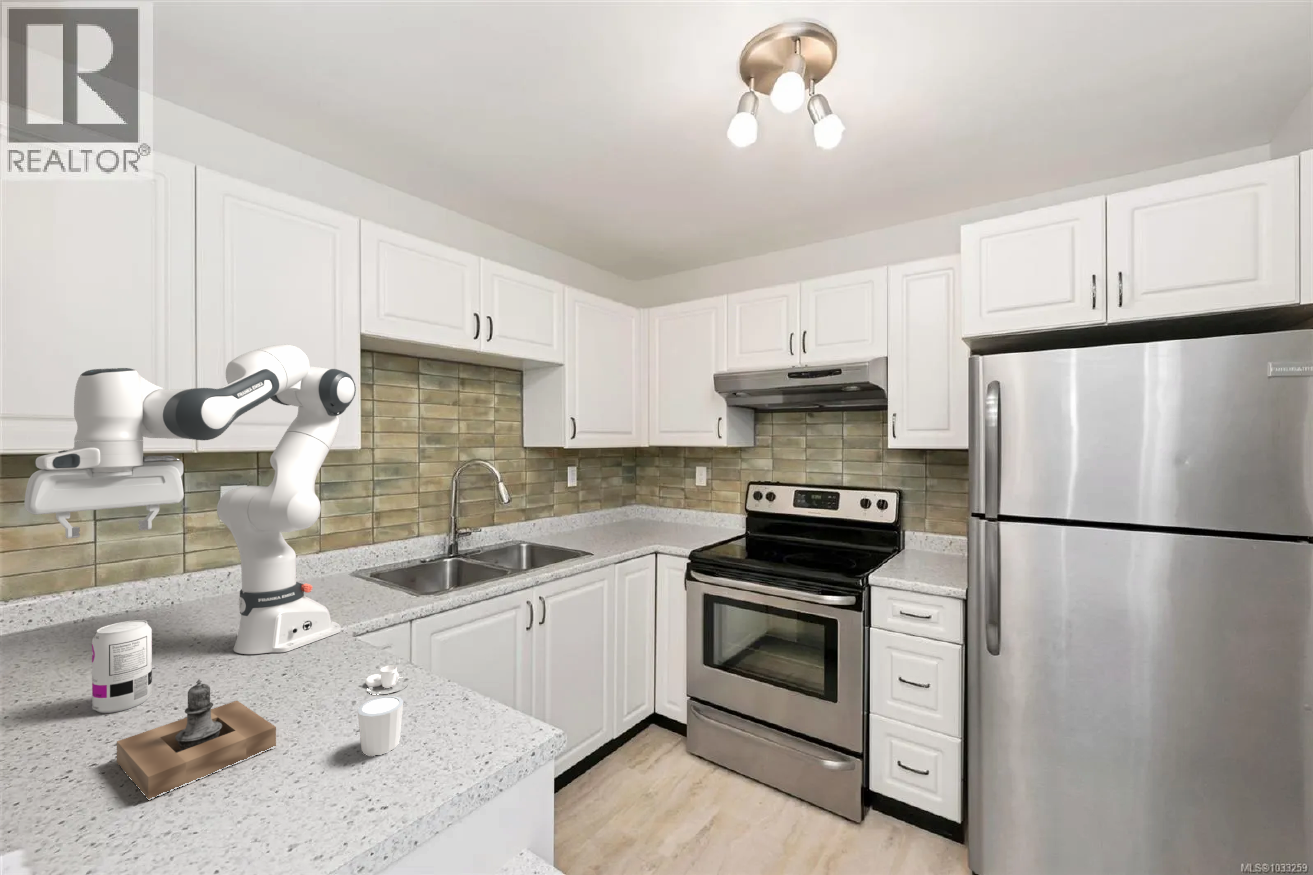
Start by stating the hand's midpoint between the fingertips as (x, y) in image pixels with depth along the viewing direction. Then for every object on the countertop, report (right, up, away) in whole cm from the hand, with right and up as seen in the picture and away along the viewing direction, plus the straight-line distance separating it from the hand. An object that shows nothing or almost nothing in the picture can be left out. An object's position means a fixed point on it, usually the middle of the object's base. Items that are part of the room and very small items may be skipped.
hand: (110, 533), depth 99 cm
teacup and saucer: (+43, -35, +17) cm, 58 cm away
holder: (+24, -34, -10) cm, 43 cm away
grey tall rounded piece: (+24, -34, -10) cm, 43 cm away
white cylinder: (+53, -35, -7) cm, 63 cm away
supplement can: (-4, -34, +7) cm, 35 cm away
